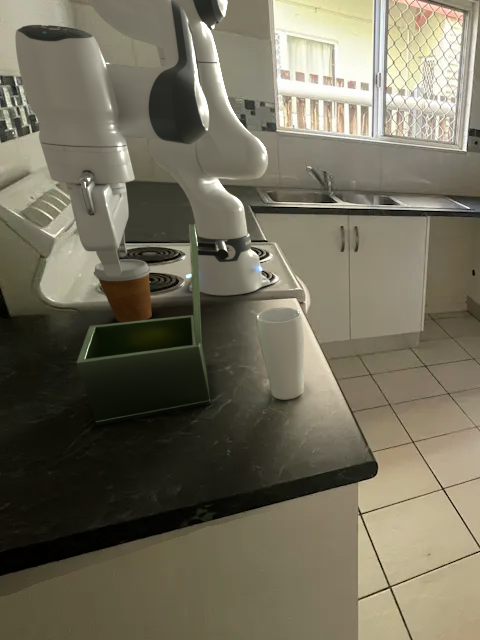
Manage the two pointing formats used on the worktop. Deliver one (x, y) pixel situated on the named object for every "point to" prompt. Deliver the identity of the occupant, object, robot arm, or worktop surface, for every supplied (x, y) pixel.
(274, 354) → the drinking glass
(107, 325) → the green tapered box
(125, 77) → the robot arm
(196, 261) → the lid
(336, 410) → the worktop surface
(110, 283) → the disposable coffee cup
